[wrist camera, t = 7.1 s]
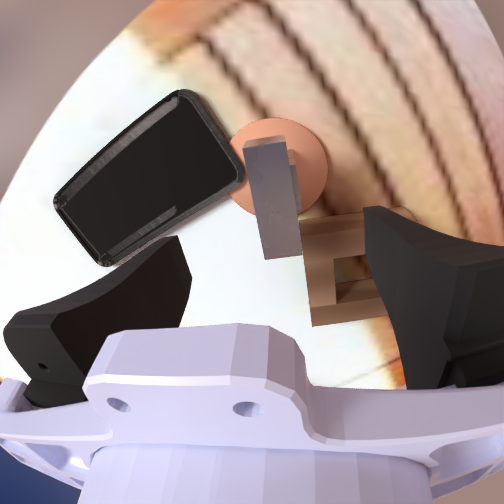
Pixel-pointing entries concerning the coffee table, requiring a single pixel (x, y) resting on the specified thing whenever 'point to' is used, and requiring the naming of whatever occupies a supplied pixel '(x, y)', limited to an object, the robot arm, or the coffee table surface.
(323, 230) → the socket block
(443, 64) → the coffee table surface
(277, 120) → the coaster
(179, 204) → the phone
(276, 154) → the t key
